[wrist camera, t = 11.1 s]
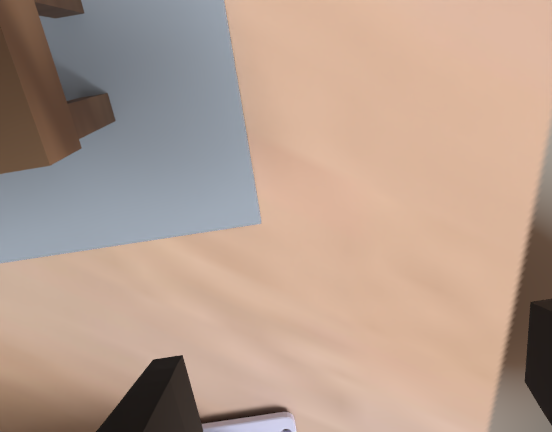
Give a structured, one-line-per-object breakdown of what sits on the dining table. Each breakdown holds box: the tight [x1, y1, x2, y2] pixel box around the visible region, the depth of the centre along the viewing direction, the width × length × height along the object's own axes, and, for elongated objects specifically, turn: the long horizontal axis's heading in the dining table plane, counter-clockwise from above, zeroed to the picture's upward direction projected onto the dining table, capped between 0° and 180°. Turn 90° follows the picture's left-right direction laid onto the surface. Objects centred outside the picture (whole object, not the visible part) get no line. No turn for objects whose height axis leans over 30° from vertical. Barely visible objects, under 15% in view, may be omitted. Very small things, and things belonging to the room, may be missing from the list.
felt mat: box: [0, 0, 261, 263], centre depth 15 cm, size 14×14×1 cm
